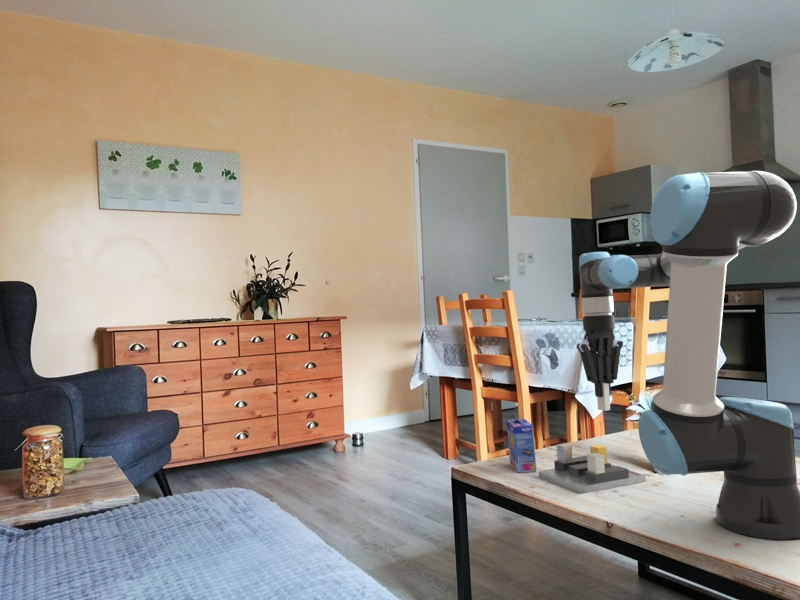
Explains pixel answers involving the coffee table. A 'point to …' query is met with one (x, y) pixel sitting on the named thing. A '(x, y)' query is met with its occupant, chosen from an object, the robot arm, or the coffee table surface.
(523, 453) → the ink cartridge box
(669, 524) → the coffee table surface
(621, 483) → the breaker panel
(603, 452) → the block
